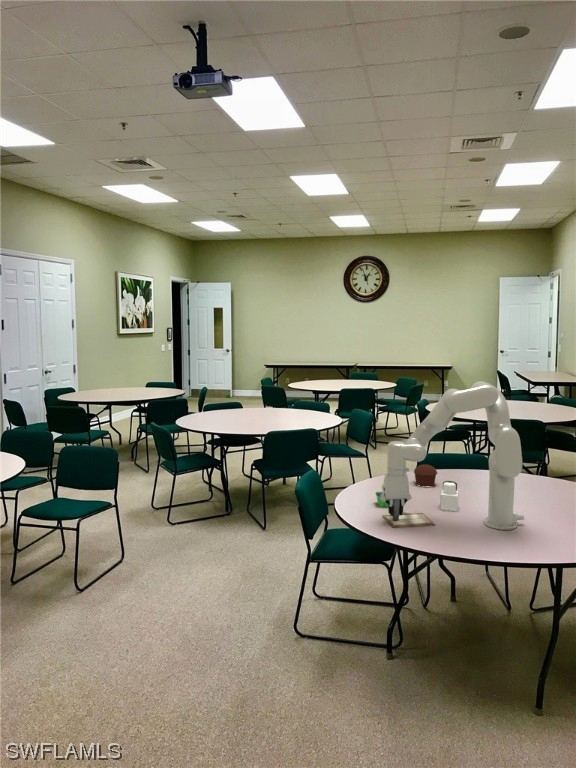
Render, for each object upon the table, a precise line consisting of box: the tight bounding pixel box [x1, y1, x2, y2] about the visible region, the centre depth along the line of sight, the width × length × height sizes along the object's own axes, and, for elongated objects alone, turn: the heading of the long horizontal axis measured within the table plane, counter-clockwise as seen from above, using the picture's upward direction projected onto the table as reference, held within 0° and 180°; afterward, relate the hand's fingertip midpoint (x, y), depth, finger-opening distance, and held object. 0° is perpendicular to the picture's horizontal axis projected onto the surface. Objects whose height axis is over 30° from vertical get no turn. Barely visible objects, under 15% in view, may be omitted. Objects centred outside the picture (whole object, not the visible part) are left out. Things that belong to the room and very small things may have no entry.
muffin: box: [413, 464, 438, 487], centre depth 285 cm, size 12×11×10 cm
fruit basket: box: [375, 484, 389, 508], centre depth 255 cm, size 11×9×11 cm
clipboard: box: [382, 511, 436, 529], centre depth 235 cm, size 18×13×2 cm
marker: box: [393, 499, 400, 521], centre depth 234 cm, size 3×3×12 cm
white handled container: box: [440, 480, 459, 512], centre depth 250 cm, size 7×7×12 cm
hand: (395, 514), depth 234 cm, fingers closed on marker, 3 cm apart
